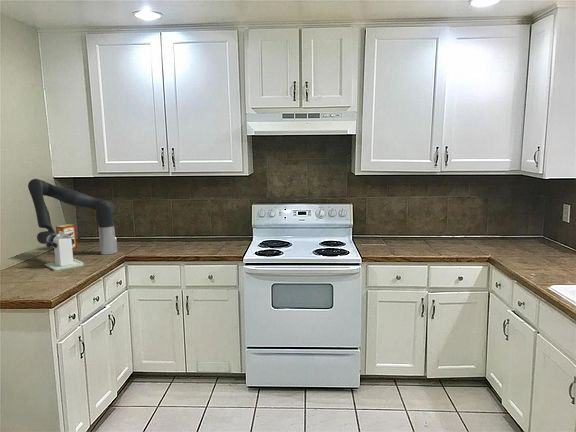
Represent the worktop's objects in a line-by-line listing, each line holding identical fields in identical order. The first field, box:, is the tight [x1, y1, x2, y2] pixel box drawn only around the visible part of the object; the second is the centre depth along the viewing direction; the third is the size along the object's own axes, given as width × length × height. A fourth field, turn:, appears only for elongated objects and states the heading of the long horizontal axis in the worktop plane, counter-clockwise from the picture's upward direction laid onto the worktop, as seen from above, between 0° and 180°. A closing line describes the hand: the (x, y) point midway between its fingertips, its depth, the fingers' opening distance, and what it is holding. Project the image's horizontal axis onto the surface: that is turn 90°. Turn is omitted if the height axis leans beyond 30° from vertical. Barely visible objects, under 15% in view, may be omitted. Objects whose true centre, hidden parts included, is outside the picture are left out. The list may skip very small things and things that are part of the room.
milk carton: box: [53, 231, 74, 266], centre depth 253 cm, size 7×7×19 cm
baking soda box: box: [55, 223, 78, 250], centre depth 298 cm, size 10×6×16 cm
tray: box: [45, 258, 85, 272], centre depth 254 cm, size 16×16×1 cm
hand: (64, 244), depth 251 cm, fingers open, 8 cm apart
